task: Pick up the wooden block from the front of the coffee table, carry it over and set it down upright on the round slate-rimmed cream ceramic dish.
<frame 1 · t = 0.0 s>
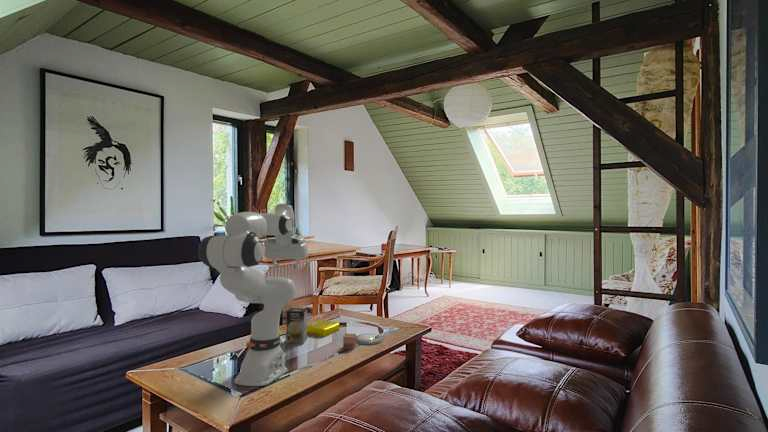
hand: (286, 268, 195), 39 cm above the table, tool pointing down, fingers open, 8 cm apart
block: (349, 347, 201), on the table
element tile: (321, 332, 226), on the table
coffee box: (296, 341, 210), on the table
dish: (368, 340, 212), on the table
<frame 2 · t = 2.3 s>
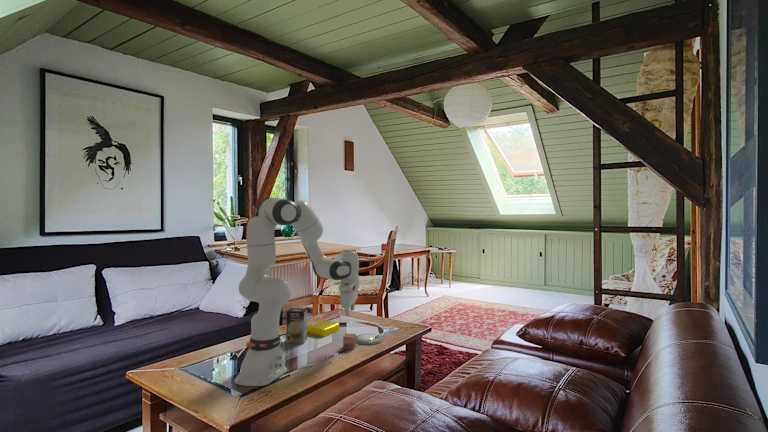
hand: (349, 312, 201), 17 cm above the table, tool pointing down, fingers open, 8 cm apart
nothing on the table moved.
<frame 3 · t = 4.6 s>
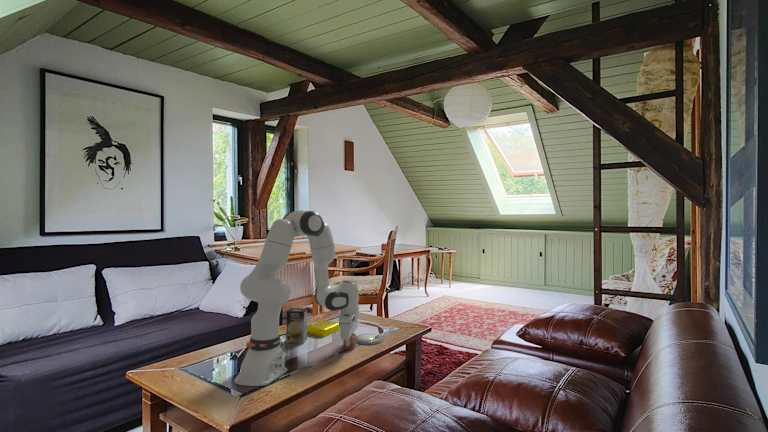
hand: (349, 343, 201), 2 cm above the table, tool pointing down, fingers closed on block, 5 cm apart
block: (349, 347, 201), on the table, touching gripper
everything else where it was.
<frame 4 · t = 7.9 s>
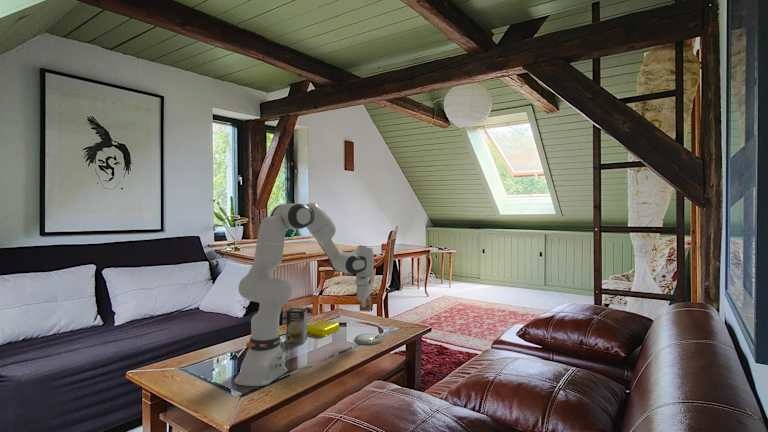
hand: (365, 305, 209), 18 cm above the table, tool pointing down, fingers closed on block, 5 cm apart
block: (365, 309, 210), point 16 cm above the table, touching gripper
everything else where it was.
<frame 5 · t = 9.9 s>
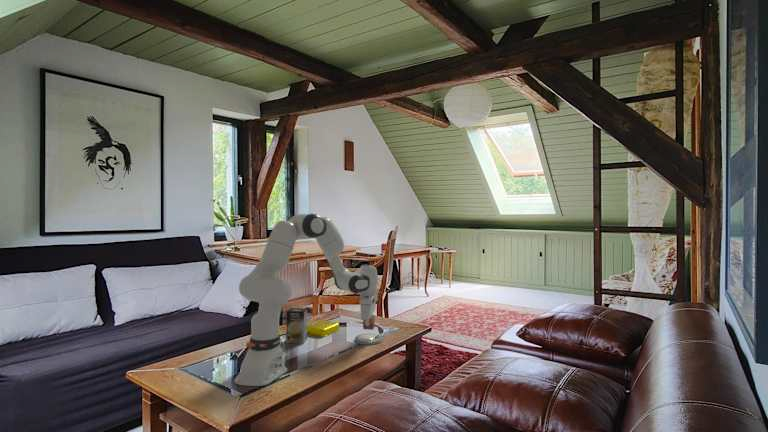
hand: (368, 323, 212), 8 cm above the table, tool pointing down, fingers closed on block, 5 cm apart
block: (368, 327, 212), point 6 cm above the table, touching gripper
everything else where it was.
when the fingers open (5 cm above the table, at t = 11.5 s): block drops 1 cm, resting on dish.
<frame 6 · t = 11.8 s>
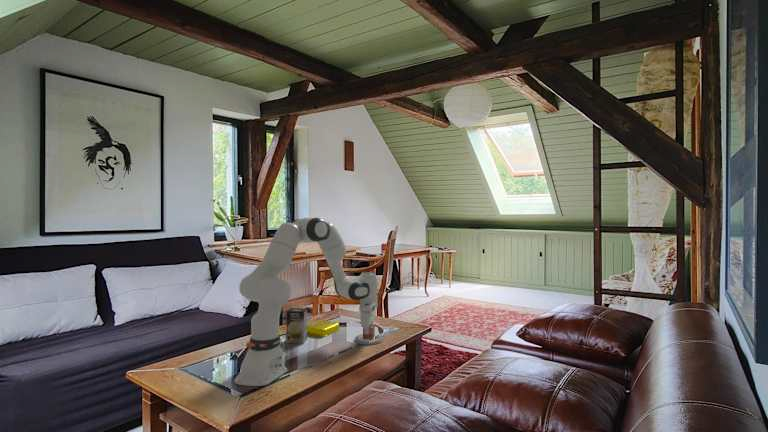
hand: (368, 331, 212), 5 cm above the table, tool pointing down, fingers open, 8 cm apart
block: (368, 337, 212), point 1 cm above the table, touching dish
everything else where it was.
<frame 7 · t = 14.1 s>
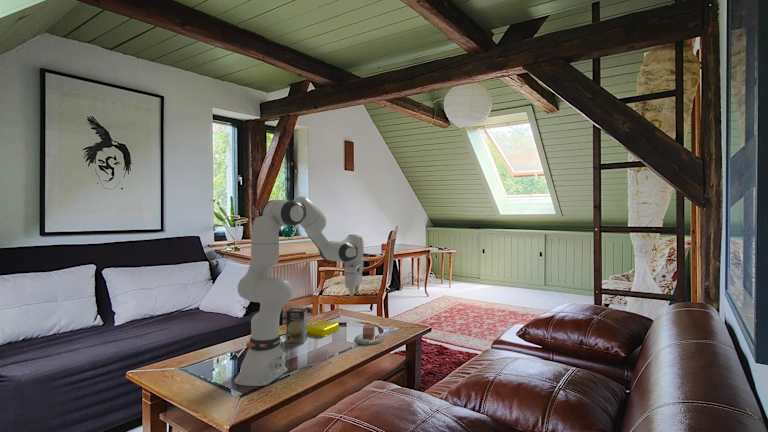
hand: (354, 294, 211), 23 cm above the table, tool pointing down, fingers open, 8 cm apart
nothing on the table moved.
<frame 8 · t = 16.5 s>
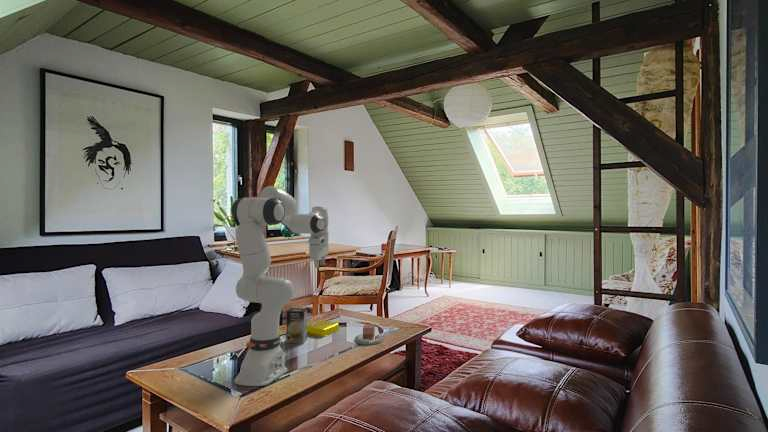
hand: (319, 266, 213), 37 cm above the table, tool pointing down, fingers open, 8 cm apart
nothing on the table moved.
at the end: block inside the target area on the dish (0.1 cm from its centre), point 1.2 cm above the dish's base; block tilted 0°; the gripper is holding nothing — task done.
